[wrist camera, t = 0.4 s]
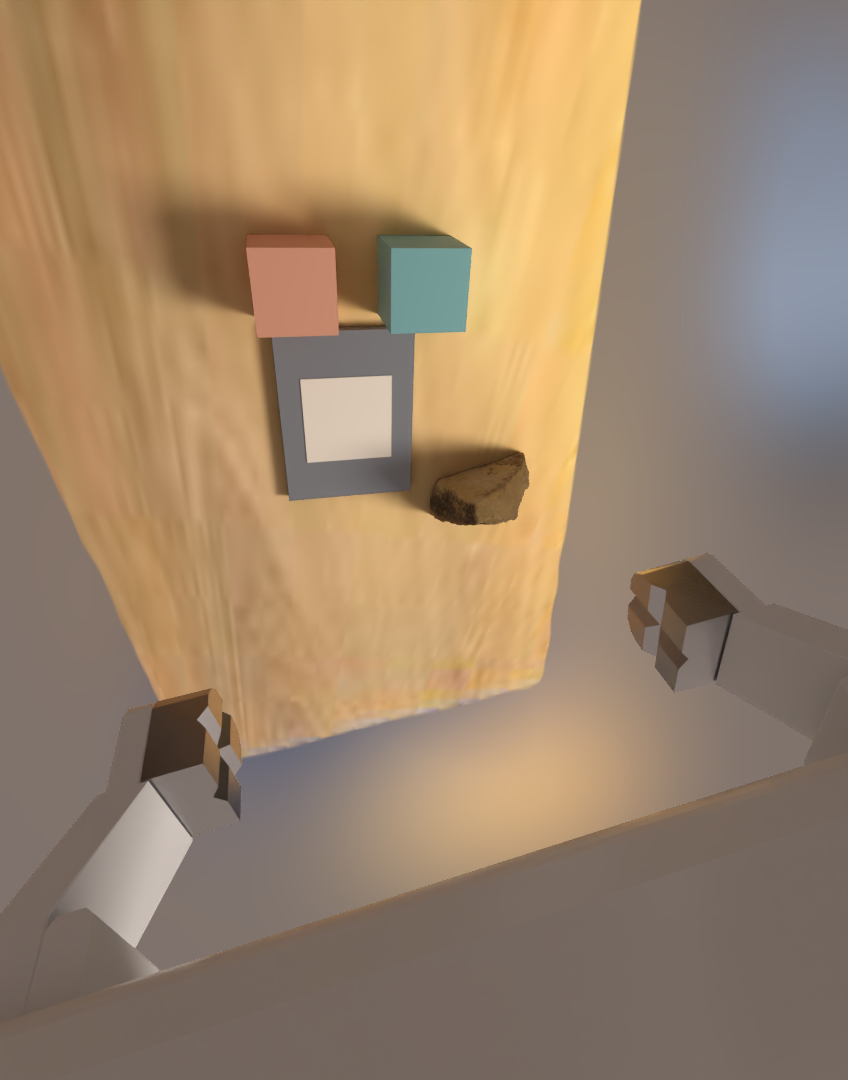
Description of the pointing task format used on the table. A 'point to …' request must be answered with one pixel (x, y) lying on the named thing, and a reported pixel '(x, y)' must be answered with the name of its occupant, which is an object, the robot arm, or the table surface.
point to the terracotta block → (293, 285)
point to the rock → (482, 493)
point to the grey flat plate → (346, 411)
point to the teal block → (423, 283)
